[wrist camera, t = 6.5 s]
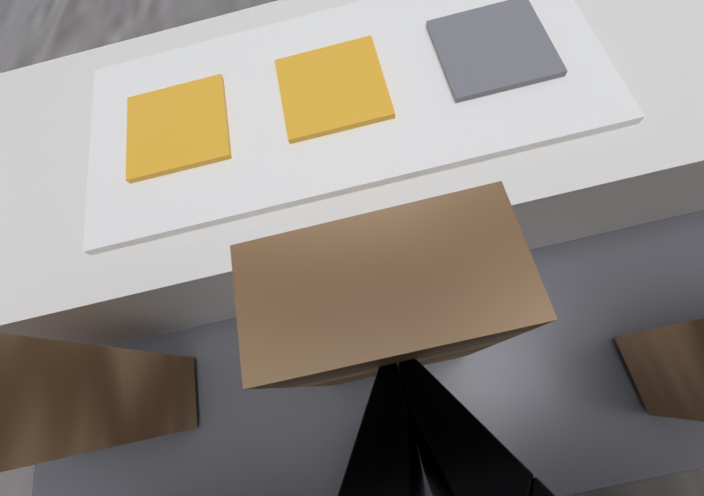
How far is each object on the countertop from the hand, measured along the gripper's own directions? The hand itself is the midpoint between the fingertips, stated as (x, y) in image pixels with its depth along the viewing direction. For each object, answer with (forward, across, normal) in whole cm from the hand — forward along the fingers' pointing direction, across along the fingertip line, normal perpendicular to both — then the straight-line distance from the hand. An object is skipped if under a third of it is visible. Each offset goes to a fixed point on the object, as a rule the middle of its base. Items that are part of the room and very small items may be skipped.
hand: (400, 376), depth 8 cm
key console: (+8, 0, +1) cm, 8 cm away
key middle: (+5, 0, +3) cm, 6 cm away
